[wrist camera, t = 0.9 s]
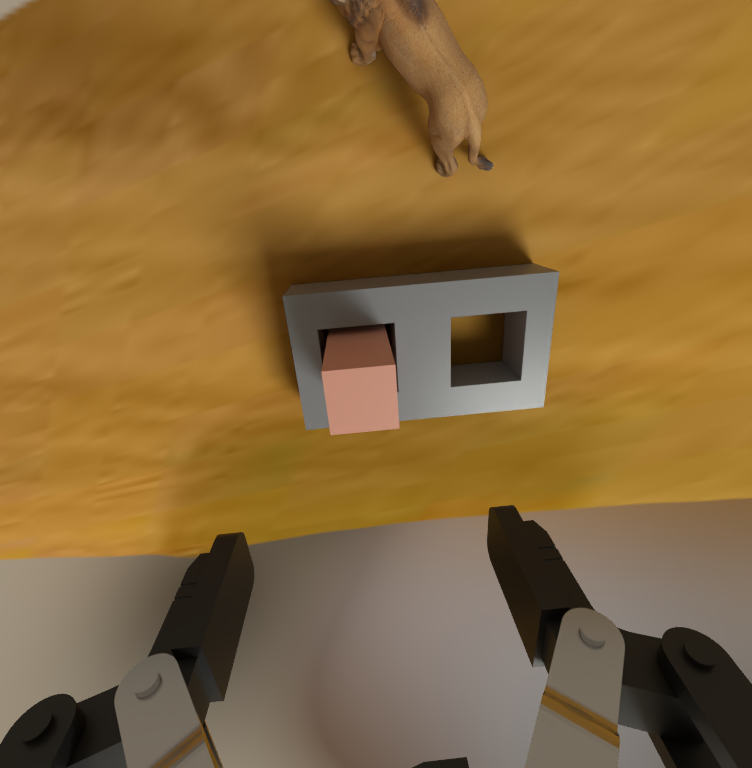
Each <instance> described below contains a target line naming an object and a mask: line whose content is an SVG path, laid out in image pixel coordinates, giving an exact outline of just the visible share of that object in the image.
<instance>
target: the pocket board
mask: <svg viewBox="0 0 752 768" xmlns="http://www.w3.org/2000/svg"><path fill="white" fill-rule="evenodd" d="M558 278H559V271H556V270H553V269H549V268H546V267H543V266H540V265H537V264H534V263H531V264H520V265H509V266H498V267H487V268H475V269H464V270H453V271H442V272H430V273H419V274H408V275H397V276H386V277H374V278H363V279H352V280H341V281H329V282H318V283H307V284H296V285H291V286H290V287H289V288H288V290H287V291H286V292H285V294H284V295H283V296H282V297H283V303H284V309H285V314H286V320H287V325H288V331H289V337H290V342H291V348H292V354H293V359H294V365H295V370H296V376H297V382H298V387H299V393H300V399H301V404H302V410H303V415H304V421H305V427H306V430H310V429H321V428H330V427H329V421H328V414H327V407H326V400H325V394H324V387H323V380H322V373H321V370H322V365H323V359H324V354H325V348H326V344H325V337H324V330H323V329H331V328H342V327H353V326H364V325H375V324H386V323H390V326H391V342H392V354H393V357H394V361H395V365H396V381H397V397H398V414H399V421H404V420H414V419H424V418H435V417H445V416H456V415H466V414H476V413H487V412H497V411H507V410H518V409H528V408H538V407H544V398H545V390H546V381H547V373H548V364H549V355H550V347H551V338H552V330H553V321H554V312H555V304H556V295H557V287H558ZM495 313H505V321H504V337H503V353H502V361H495V362H484V363H473V364H463V365H452V366H451V317H462V316H473V315H484V314H495Z"/></svg>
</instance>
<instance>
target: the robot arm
mask: <svg viewBox="0 0 752 768" xmlns="http://www.w3.org/2000/svg"><path fill="white" fill-rule="evenodd" d="M487 546H488V553H489V557H490V561H491V563H492V566H493V568H494V571H495V573H496V576H497V578H498V581H499V584H500V586H501V589H502V591H503V594H504V596H505V599H506V601H507V604H508V606H509V609H510V611H511V614H512V616H513V619H514V622H515V624H516V627H517V629H518V632H519V634H520V637H521V639H522V641H523V644H524V647H525V649H526V652H527V654H528V657H529V659H530V662H531V664H532V667H541V666H545V667H546V670H547V672H548V674H549V675H548V679H547V684H546V687H545V691H544V693H543V696H542V700H541V704H540V708H539V712H538V716H537V720H536V724H535V728H534V732H533V736H532V740H531V744H530V748H529V752H528V757H527V760H526V764H525V768H618V758H619V745H620V743H619V742H620V739H619V734H618V733H617V726H618V724H620V725H623V726H627V727H631V728H634V729H639V730H642V731H646V732H648V734H649V736H650V738H651V740H652V742H653V743H654V746H655V748H656V750H657V752H658V754H659V756H660V757H661V759H662V761H663V763H664V765H665V767H666V768H752V684H751V683H750V682H749V680H748V679H747V678H746V676H745V675H744V674H743V673H742V671H741V670H740V669H739V667H738V666H737V665H736V664H735V662H734V661H733V660H732V658H731V657H730V656H729V655H728V654H727V652H726V651H725V650H724V649H723V648H722V647H721V646H720V645H719V644H717V643H716V642H715V641H713V640H712V639H711V638H709V637H707V636H706V635H704V634H701V633H700V632H698V631H695V630H692V629H689V628H684V627H675V628H671V629H668V630H667V631H666V632H665V633H664V635H663V637H662V639H661V638H655V637H651V636H646V635H641V634H636V633H632V632H628V631H625V630H622V629H620V628H618V627H616V625H615V624H614V623H613V622H612V621H611V620H609V619H608V618H607V617H606V616H604V615H602V614H601V613H599V612H597V611H595V610H594V609H593V607H592V606H591V604H590V602H589V601H588V599H587V598H586V596H585V594H584V593H583V591H582V589H581V588H580V586H579V584H578V583H577V581H576V579H575V578H574V576H573V574H572V573H571V571H570V569H569V568H568V566H567V564H566V563H565V561H563V559H562V556H561V555H560V553H559V551H558V550H557V549H556V547H555V544H554V543H553V541H552V539H551V538H550V536H549V535H548V533H547V532H546V531H545V530H544V529H543V528H542V527H541V526H539V525H538V524H537V523H536V522H535V521H533V520H531V521H523V520H522V518H521V517H520V515H519V513H518V511H517V509H516V508H515V506H513V505H510V506H500V507H491V508H490V509H489V519H488V535H487ZM253 584H254V566H253V562H252V559H251V556H250V552H249V549H248V545H247V542H246V538H245V535H244V533H242V532H239V533H229V534H219V535H218V536H217V537H216V539H215V541H214V543H213V546H212V548H211V551H210V553H203V554H200V555H199V556H198V557H197V558H196V560H195V561H194V562H193V563H192V564H191V565H190V566H189V568H188V569H187V571H186V573H185V576H184V578H183V580H182V582H181V587H180V588H179V589H178V591H177V593H176V596H175V600H174V601H173V602H172V605H171V607H170V609H169V611H168V614H167V616H166V618H165V620H164V623H163V625H162V627H161V629H160V631H159V634H158V636H157V638H156V640H155V643H154V645H153V647H152V649H151V652H150V653H149V656H148V657H147V658H145V659H144V660H142V661H140V662H139V663H138V664H136V665H135V666H134V667H133V668H132V669H131V670H130V671H129V672H128V673H127V674H126V675H125V677H124V678H123V679H122V681H121V683H120V684H119V685H118V686H116V687H113V688H111V689H109V690H107V691H105V692H102V693H100V694H98V695H95V696H93V697H91V698H88V699H86V700H84V701H81V702H79V703H76V701H75V700H74V699H73V698H72V697H71V696H70V695H67V694H57V695H53V696H51V697H48V698H46V699H44V700H42V701H40V702H38V703H37V704H35V705H34V706H33V707H31V708H30V709H29V710H27V711H26V712H25V713H24V714H23V715H22V716H21V717H20V718H19V719H18V720H17V721H16V722H15V723H14V725H13V726H12V727H11V728H10V730H9V731H8V733H7V734H6V736H5V738H4V739H3V741H2V742H1V744H0V768H223V765H222V763H221V760H220V758H219V755H218V752H217V750H216V747H215V745H214V742H213V740H212V737H211V734H210V732H209V729H208V726H207V724H206V721H205V718H206V714H207V710H208V707H209V703H210V702H216V701H224V698H225V694H226V690H227V686H228V682H229V679H230V674H231V671H232V667H233V663H234V659H235V655H236V651H237V647H238V643H239V639H240V635H241V631H242V628H243V624H244V620H245V615H246V612H247V608H248V604H249V600H250V596H251V592H252V588H253ZM413 768H469V766H468V761H467V757H463V758H456V759H447V760H438V761H429V762H423V763H421V764H419V765H417V766H415V767H413Z"/></svg>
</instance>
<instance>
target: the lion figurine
mask: <svg viewBox="0 0 752 768" xmlns="http://www.w3.org/2000/svg"><path fill="white" fill-rule="evenodd" d="M329 1H330V2H332V3H333V4H335V5H336V6H337V9H338V11H339V12H340V13H341V14H342V15H343V16H344V17H345V19H346V20H347V21H348V23H349V24H350V25H351V26H353V27H354V34H355V38H356V42H353V43H352V47H351V50H350V55H351V58H352V62H353V63H354V64H357V65H368V64H370V63H371V62H372V61H374V60H375V58H376V51H381V50H382V49H383V51H384V53H385V54H386V56H387V58H388V59H389V61H390V62H391V63H392V65H393V66H394V67H395V68H396V70H397V71H398V72H399V73H400V74H401V76H402V77H403V78H404V79H405V81H406V82H407V83H408V84H409V85H410V87H411V88H412V89H413V90H415V91H416V92H417V93H418V94H419V95H421V96H422V97H423V98H424V99H425V100H426V102H427V103H428V106H429V119H428V131H429V136H430V141H431V144H432V147H433V149H434V151H435V153H436V154H437V156H438V160H437V162H436V171H437V172H438V174H440V175H441V176H443V177H449V176H451V175H453V174H454V173H455V172H456V171H457V169H458V164H457V161H456V159H455V157H454V156H453V150H454V149H455V148H456V147H457V146H458V145H459V144H460V143H461V142H462V141H463V140H464V139H466V140H467V141H468V143H469V150H468V159H469V162H470V163H471V164H473V165H477V166H478V168H479V169H483V170H485V171H488V170H491V169H492V167H493V163H492V162H490V161H489V160H487V159H486V157H484V156H478V152H479V149H480V144H481V123H482V122H483V120H484V118H485V115H486V112H487V96H486V91H485V88H484V84H483V82H482V79H481V78H480V76H479V74H478V72H477V70H476V68H475V67H474V65H473V64H472V63H471V62H470V61H469V60H468V59H467V57H466V56H465V54H464V53H463V52H462V50H461V49H460V47H459V45H458V43H457V41H456V39H455V37H454V35H453V33H452V31H451V29H450V27H449V25H448V23H447V21H446V19H445V17H444V15H443V13H442V11H441V9H440V8H439V6H438V5H437V3H436V2H435V0H329Z"/></svg>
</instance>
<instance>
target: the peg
mask: <svg viewBox="0 0 752 768" xmlns="http://www.w3.org/2000/svg"><path fill="white" fill-rule="evenodd" d="M321 373H322V380H323V387H324V394H325V400H326V407H327V414H328V421H329V427H330V434H331V435H337V434H347V433H358V432H368V431H378V430H388V429H399V414H398V397H397V381H396V365H395V361H394V357H393V354H392V350H391V347H390V343H389V340H388V336H387V333H386V329H385V325H384V324H375V325H364V326H353V327H342V328H331V329H329V331H328V337H327V342H326V348H325V354H324V359H323V365H322V370H321Z"/></svg>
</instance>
